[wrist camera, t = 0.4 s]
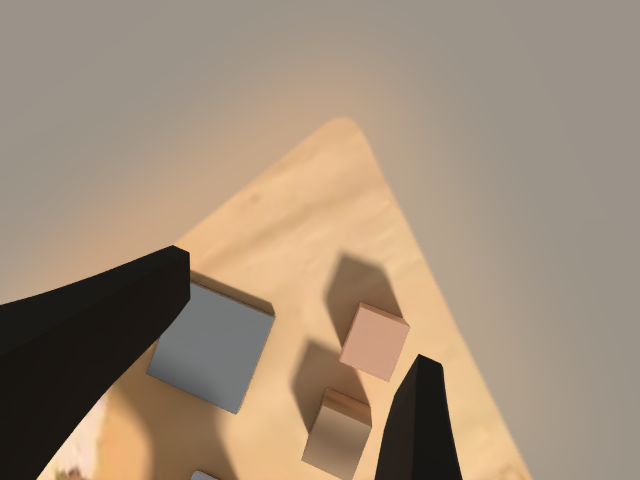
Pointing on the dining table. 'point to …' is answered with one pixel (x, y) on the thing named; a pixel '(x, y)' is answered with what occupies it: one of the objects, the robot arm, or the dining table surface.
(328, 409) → the walnut brick
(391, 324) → the pinkish tan block
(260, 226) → the dining table surface
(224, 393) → the base plate
